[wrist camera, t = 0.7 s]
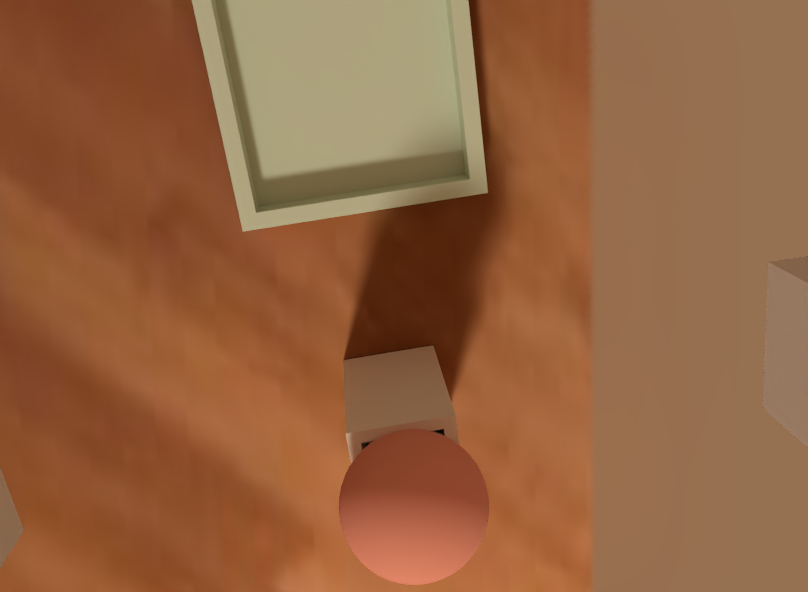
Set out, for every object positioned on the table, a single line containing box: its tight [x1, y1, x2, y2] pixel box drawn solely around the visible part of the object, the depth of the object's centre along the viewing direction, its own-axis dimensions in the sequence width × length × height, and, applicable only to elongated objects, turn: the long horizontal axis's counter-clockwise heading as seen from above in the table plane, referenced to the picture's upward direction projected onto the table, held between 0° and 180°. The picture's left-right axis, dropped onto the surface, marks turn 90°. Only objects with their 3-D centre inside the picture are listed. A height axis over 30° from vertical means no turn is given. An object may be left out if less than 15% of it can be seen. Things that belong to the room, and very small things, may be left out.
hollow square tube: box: [344, 345, 459, 464], centre depth 38 cm, size 5×5×8 cm
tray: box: [192, 0, 488, 231], centre depth 34 cm, size 16×12×2 cm
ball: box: [339, 429, 489, 585], centre depth 32 cm, size 6×6×6 cm
